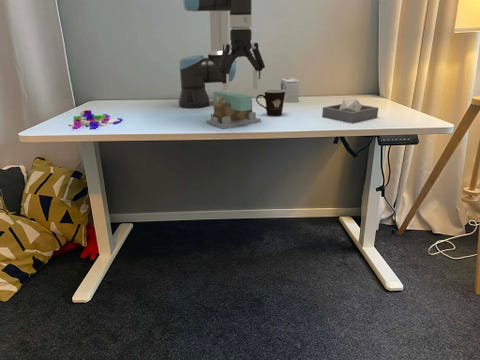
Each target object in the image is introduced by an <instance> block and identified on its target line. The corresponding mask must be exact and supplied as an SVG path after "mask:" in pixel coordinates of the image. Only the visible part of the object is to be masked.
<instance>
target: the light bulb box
mask: <svg viewBox="0 0 480 360" xmlns="http://www.w3.org/2000/svg"><path fill="white" fill-rule="evenodd" d="M280 90H284V91H285V95H284V103H285V104H286V103H287V104H289V103H299V91H300V80H298V79H297V78H292V77H291V78H288V77H287V78H280Z"/></svg>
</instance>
